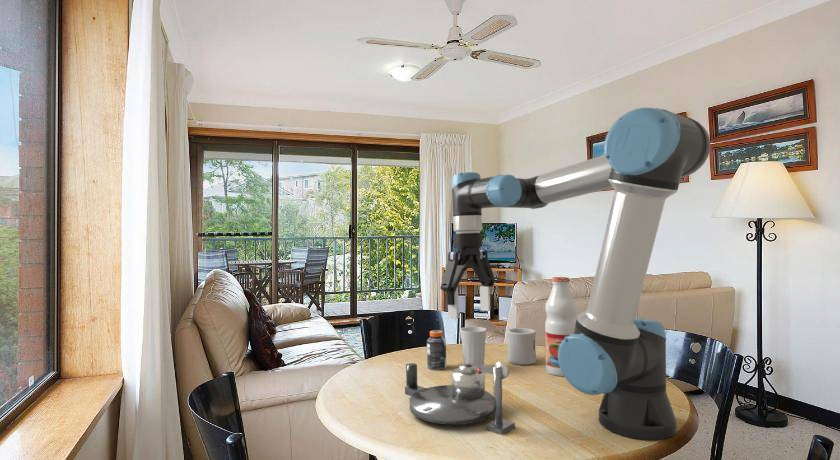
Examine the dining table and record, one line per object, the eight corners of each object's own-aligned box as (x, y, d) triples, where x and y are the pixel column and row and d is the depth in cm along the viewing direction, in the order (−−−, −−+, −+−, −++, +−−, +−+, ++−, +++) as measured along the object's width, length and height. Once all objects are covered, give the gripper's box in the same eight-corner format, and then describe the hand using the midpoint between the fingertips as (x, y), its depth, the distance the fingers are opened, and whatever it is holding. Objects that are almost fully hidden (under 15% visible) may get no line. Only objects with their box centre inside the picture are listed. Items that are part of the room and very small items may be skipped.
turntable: (512, 405, 110) (512, 374, 110) (457, 432, 96) (456, 396, 96) (434, 382, 128) (434, 355, 128) (378, 402, 114) (377, 372, 114)
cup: (486, 372, 140) (485, 332, 140) (459, 371, 142) (458, 331, 142) (487, 365, 148) (487, 326, 148) (462, 364, 150) (461, 326, 150)
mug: (539, 365, 147) (539, 333, 147) (510, 366, 147) (509, 333, 147) (530, 355, 159) (530, 325, 159) (503, 355, 159) (503, 325, 159)
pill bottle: (449, 366, 147) (449, 330, 147) (440, 371, 142) (439, 333, 142) (433, 363, 150) (432, 328, 150) (423, 368, 145) (423, 331, 145)
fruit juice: (572, 367, 144) (570, 275, 144) (583, 376, 135) (582, 278, 135) (541, 368, 144) (540, 276, 144) (551, 377, 135) (549, 279, 135)
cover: (491, 392, 115) (491, 365, 115) (471, 401, 109) (470, 372, 109) (465, 385, 120) (465, 359, 120) (445, 393, 114) (444, 365, 114)
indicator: (514, 427, 101) (513, 363, 101) (501, 434, 98) (500, 368, 98) (485, 417, 107) (484, 356, 107) (471, 424, 103) (470, 361, 103)
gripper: (483, 232, 135) (486, 306, 134) (424, 233, 116) (427, 319, 116) (506, 231, 129) (508, 309, 129) (448, 232, 111) (450, 322, 111)
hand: (470, 314), depth 122 cm, fingers open, 13 cm apart
